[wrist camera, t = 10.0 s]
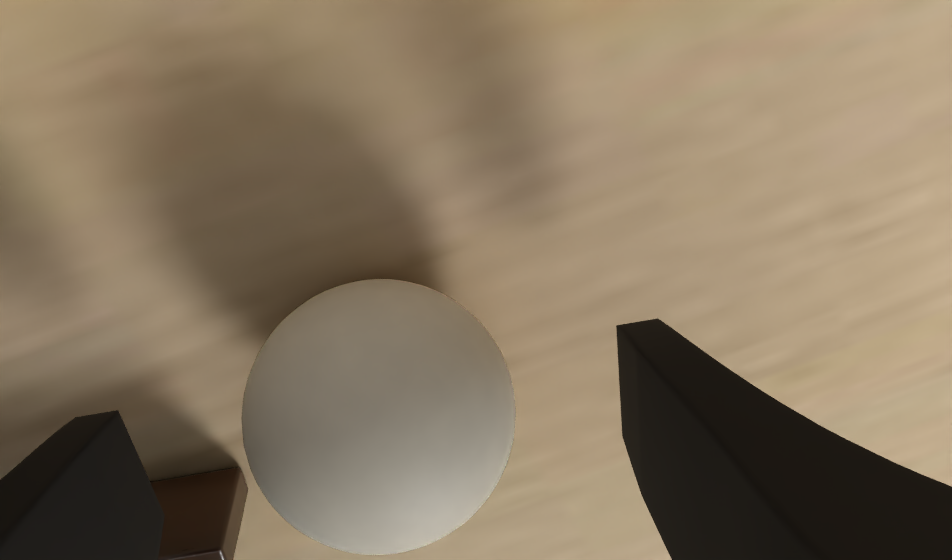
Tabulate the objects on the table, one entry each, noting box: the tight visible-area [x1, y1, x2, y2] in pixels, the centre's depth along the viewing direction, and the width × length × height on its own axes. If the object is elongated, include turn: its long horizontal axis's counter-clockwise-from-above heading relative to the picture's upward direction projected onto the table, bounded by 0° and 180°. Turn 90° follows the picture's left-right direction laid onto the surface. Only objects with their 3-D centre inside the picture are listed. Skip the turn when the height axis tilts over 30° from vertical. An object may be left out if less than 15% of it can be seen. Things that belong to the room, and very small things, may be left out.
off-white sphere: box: [242, 279, 516, 555], centre depth 12 cm, size 4×4×4 cm
